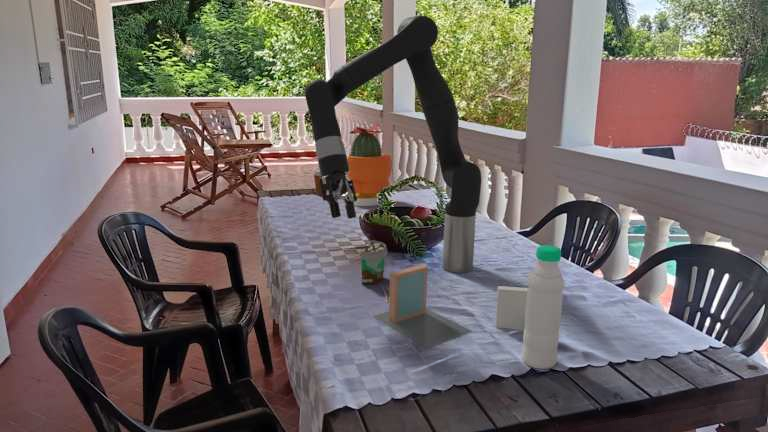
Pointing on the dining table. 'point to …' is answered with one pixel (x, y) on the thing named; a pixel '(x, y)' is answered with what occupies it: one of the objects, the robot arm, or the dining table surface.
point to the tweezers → (385, 294)
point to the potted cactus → (368, 166)
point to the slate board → (426, 328)
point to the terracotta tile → (407, 293)
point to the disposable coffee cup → (318, 181)
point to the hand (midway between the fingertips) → (344, 217)
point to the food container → (373, 263)
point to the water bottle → (543, 310)
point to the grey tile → (511, 308)
